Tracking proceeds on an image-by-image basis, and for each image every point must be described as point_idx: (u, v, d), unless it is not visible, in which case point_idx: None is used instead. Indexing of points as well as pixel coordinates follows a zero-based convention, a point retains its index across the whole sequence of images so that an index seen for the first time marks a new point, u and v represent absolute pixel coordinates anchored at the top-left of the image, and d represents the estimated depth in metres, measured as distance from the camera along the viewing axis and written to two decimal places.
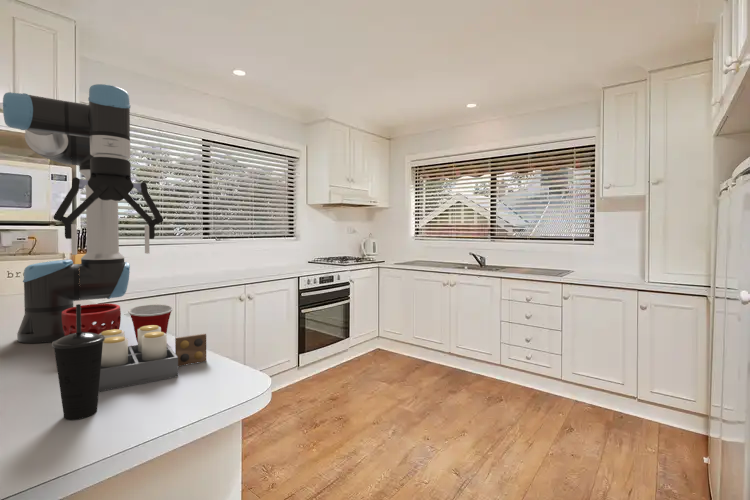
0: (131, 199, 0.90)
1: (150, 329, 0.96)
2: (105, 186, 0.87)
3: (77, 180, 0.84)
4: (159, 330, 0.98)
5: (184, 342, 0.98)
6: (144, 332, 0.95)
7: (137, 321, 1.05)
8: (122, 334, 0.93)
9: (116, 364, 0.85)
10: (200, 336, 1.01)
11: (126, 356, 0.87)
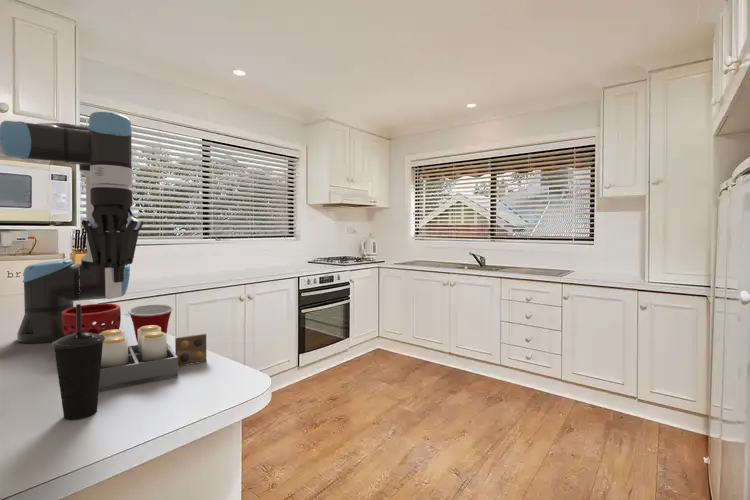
0: (113, 234, 0.84)
1: (150, 329, 0.96)
2: (100, 216, 0.84)
3: (84, 222, 0.85)
4: (159, 330, 0.98)
5: (184, 342, 0.98)
6: (144, 332, 0.95)
7: (137, 321, 1.05)
8: (122, 334, 0.93)
9: (116, 364, 0.85)
10: (200, 336, 1.01)
11: (126, 356, 0.87)
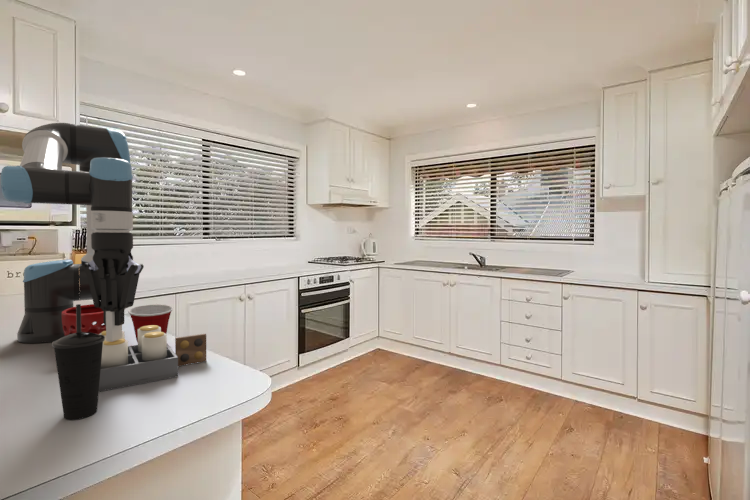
0: (113, 278, 0.84)
1: (150, 329, 0.96)
2: (101, 261, 0.84)
3: (85, 265, 0.85)
4: (159, 330, 0.98)
5: (184, 342, 0.98)
6: (144, 332, 0.95)
7: (137, 321, 1.05)
8: (122, 334, 0.93)
9: None
10: (200, 336, 1.01)
11: (126, 358, 0.87)
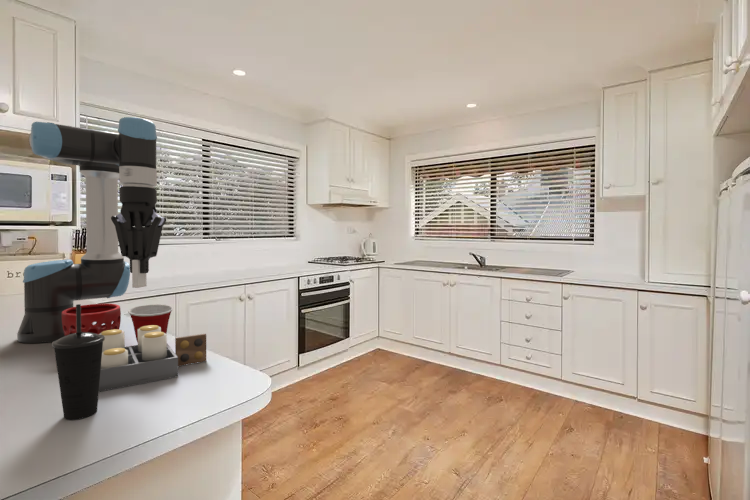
0: (139, 229, 0.92)
1: (150, 329, 0.96)
2: (128, 213, 0.92)
3: (113, 217, 0.93)
4: (159, 330, 0.98)
5: (184, 342, 0.98)
6: (144, 332, 0.95)
7: (137, 321, 1.05)
8: (122, 334, 0.93)
9: None
10: (200, 336, 1.01)
11: None
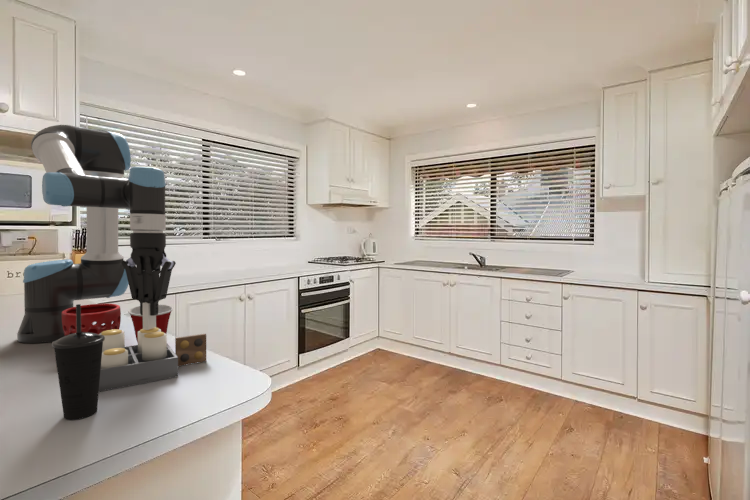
0: (150, 273, 0.95)
1: (150, 331, 0.96)
2: (138, 258, 0.95)
3: (124, 262, 0.96)
4: None
5: (184, 342, 0.98)
6: None
7: (137, 321, 1.05)
8: (122, 334, 0.93)
9: None
10: (200, 336, 1.01)
11: None
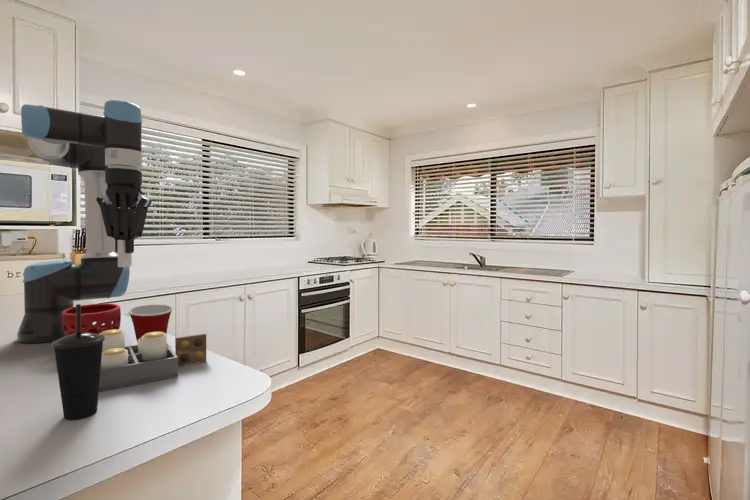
0: (125, 210, 0.94)
1: None
2: (113, 194, 0.94)
3: (99, 198, 0.95)
4: None
5: (184, 342, 0.98)
6: None
7: (137, 321, 1.05)
8: (122, 334, 0.93)
9: None
10: (200, 336, 1.01)
11: None
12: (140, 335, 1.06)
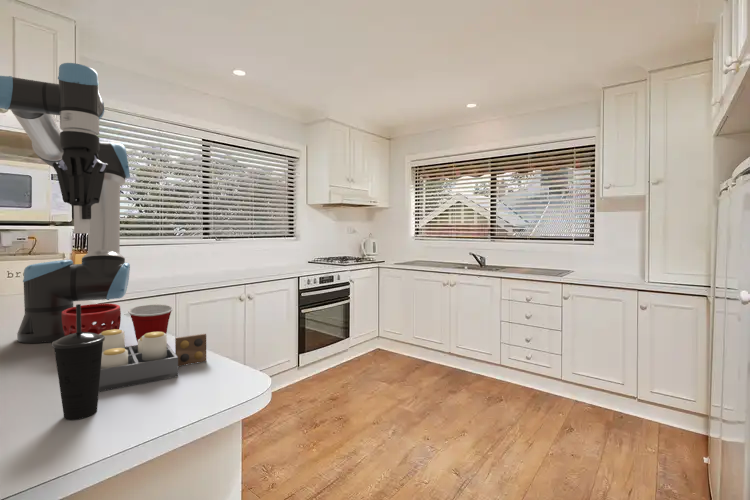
0: (80, 175, 0.93)
1: None
2: (69, 158, 0.93)
3: (55, 164, 0.94)
4: None
5: (184, 342, 0.98)
6: None
7: (137, 321, 1.05)
8: (122, 334, 0.93)
9: None
10: (200, 336, 1.01)
11: None
12: (140, 335, 1.06)
